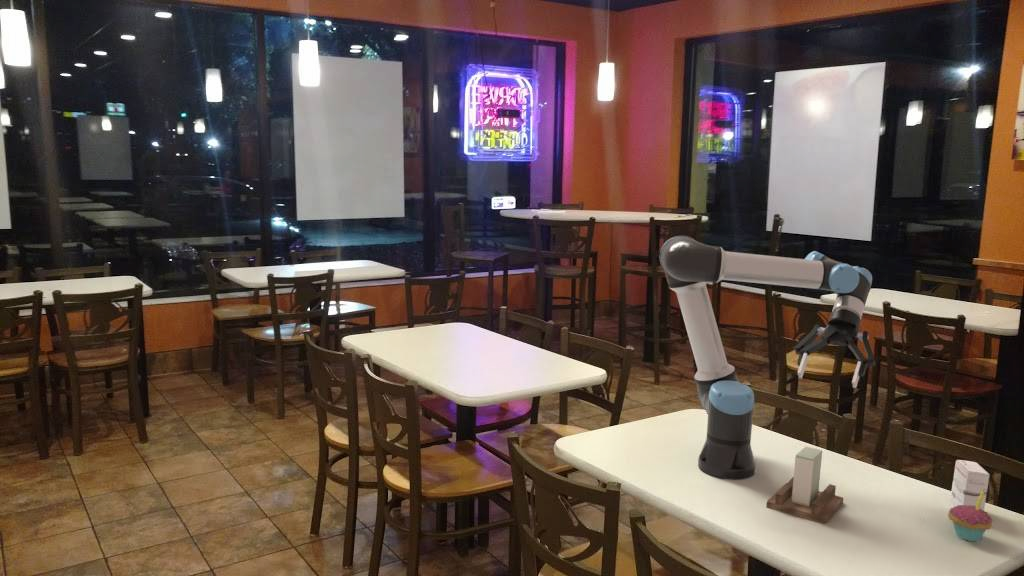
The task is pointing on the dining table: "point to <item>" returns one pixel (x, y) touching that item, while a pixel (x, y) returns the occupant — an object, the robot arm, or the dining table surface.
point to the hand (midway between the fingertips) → (826, 380)
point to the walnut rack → (816, 511)
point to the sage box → (806, 476)
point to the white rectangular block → (968, 484)
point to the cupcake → (970, 520)
